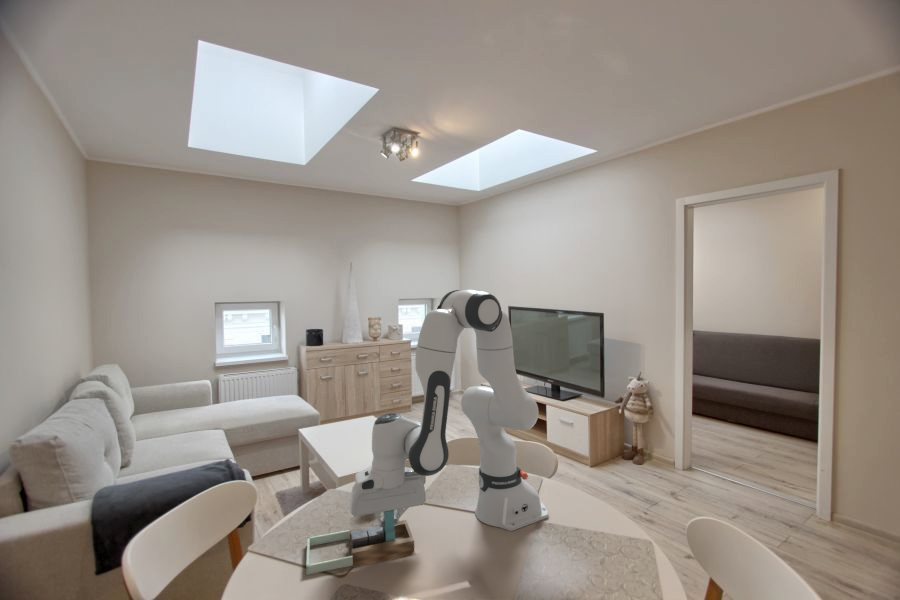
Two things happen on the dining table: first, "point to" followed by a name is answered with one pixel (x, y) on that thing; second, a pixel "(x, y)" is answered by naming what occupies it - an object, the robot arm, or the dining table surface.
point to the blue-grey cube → (375, 535)
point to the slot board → (385, 547)
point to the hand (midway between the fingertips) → (388, 524)
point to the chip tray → (330, 563)
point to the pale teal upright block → (389, 526)
